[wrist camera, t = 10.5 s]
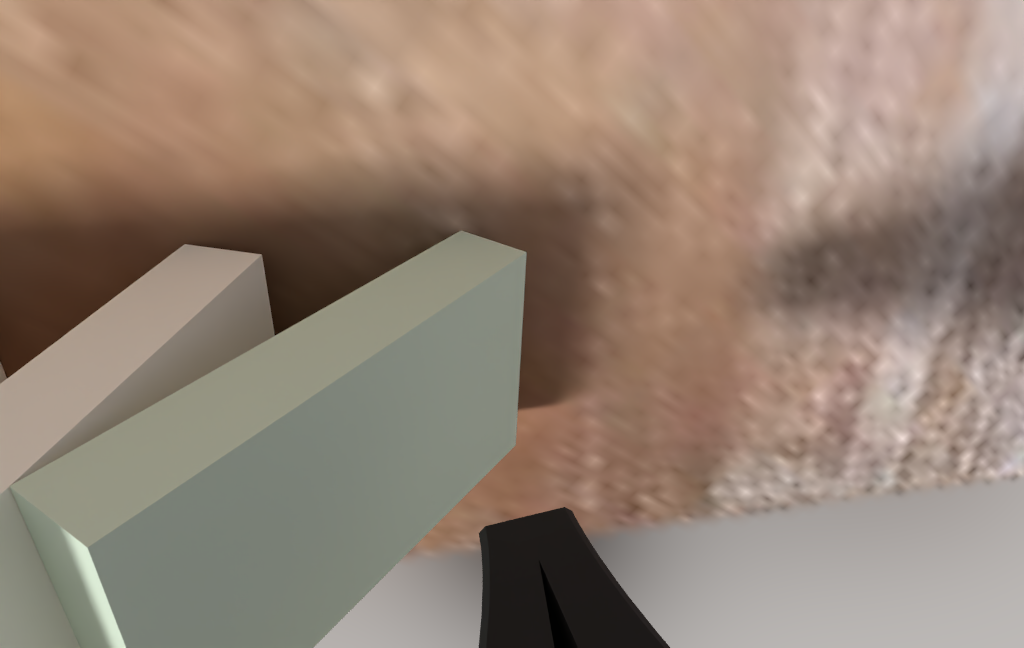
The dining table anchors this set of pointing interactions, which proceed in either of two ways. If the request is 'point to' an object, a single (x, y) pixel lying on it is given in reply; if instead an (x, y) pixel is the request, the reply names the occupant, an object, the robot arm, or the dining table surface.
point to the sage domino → (290, 465)
